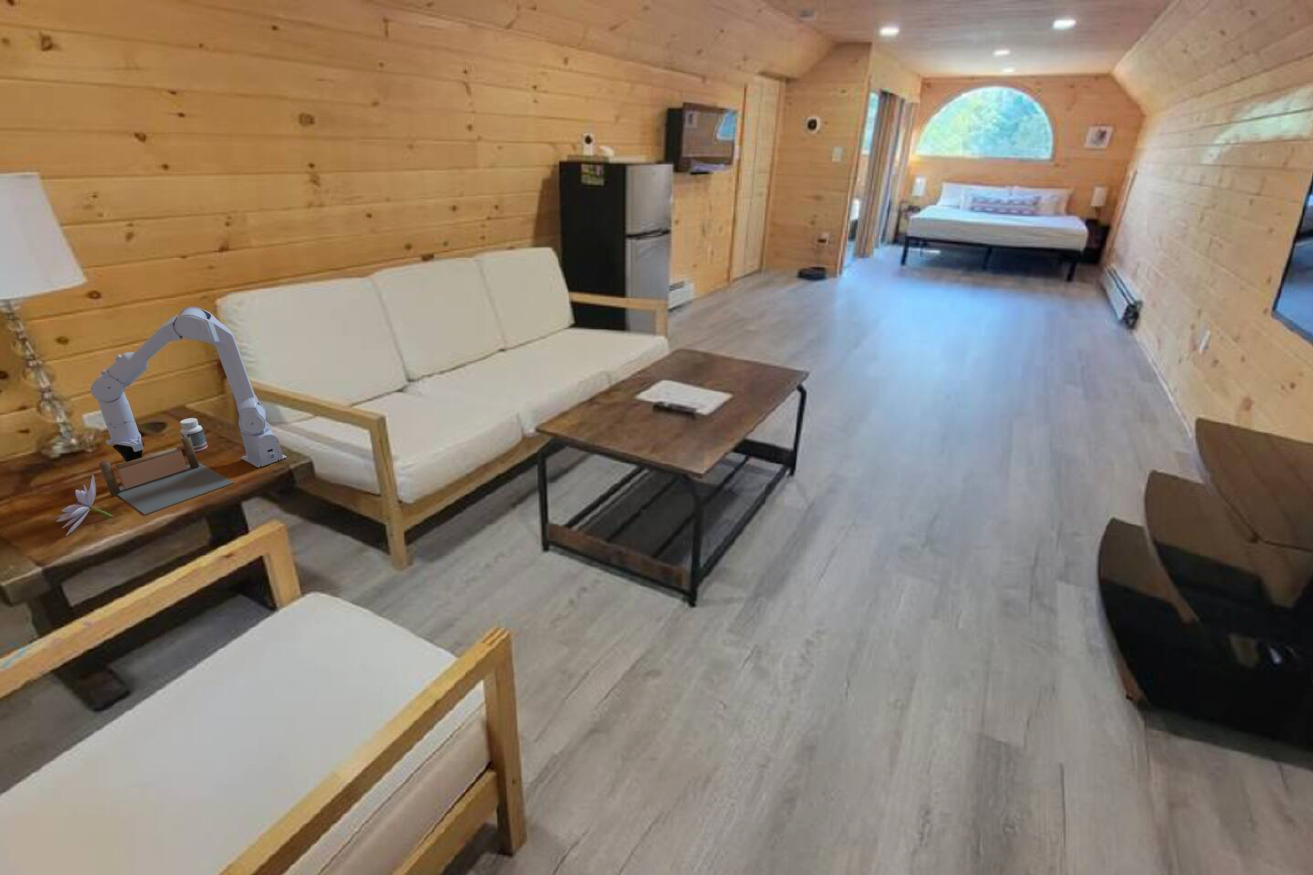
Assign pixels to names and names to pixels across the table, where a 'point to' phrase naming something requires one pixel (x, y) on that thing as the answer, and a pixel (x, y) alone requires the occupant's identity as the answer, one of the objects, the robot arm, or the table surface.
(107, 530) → the table surface
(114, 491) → the brown wooden posts
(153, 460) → the brown rimmed panel
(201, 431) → the pill bottle
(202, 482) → the mat
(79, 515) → the water lily
